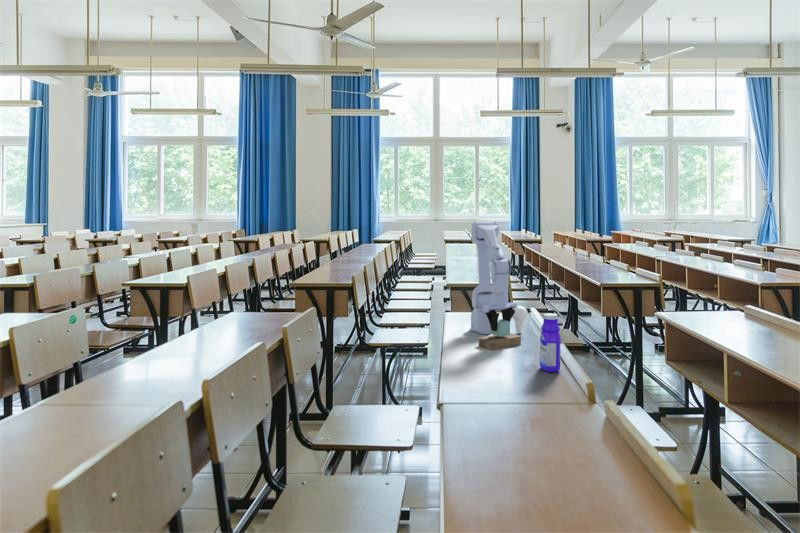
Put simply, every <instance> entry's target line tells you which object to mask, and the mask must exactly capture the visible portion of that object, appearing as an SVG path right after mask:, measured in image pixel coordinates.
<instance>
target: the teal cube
mask: <svg viewBox="0 0 800 533" xmlns="http://www.w3.org/2000/svg"><path fill="white" fill-rule="evenodd" d="M510 333H511V321H507V320H503V318H498V321H497V331H492V330H491V326H490V333H489V335H496V336H499V337H501V336H506V335H510Z"/></svg>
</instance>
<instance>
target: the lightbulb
mask: <svg viewBox="0 0 800 533" xmlns="http://www.w3.org/2000/svg"><path fill="white" fill-rule="evenodd" d="M513 309H514V310H515V313H514V315H513V316H512V319H513V321H514V325H515V326H514V327H515V332H516V333H517V334H522V333H523V330H524V324H525V322H526V319H527V318H528V313H529V312H528V310H527V309H526V307H525V306H522V305H517V308H513Z"/></svg>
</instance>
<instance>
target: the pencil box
mask: <svg viewBox="0 0 800 533" xmlns="http://www.w3.org/2000/svg"><path fill="white" fill-rule="evenodd" d="M521 344H522V336H521V335H518V334H515V333H511V332H510V335H506V336H501V337H499V336H496V335H492V334H490V335H486V336H481V337H479V336H478V346H479V347H481V348H485V349H488V350H490V351H493V350H498V349H502V348H508V347H509V348H510V347H513V346H519V345H521Z"/></svg>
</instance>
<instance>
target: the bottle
mask: <svg viewBox="0 0 800 533" xmlns="http://www.w3.org/2000/svg"><path fill="white" fill-rule="evenodd" d="M540 329H541V333H540V335H539V367H540V368H541V370H543V371H544V372H547V373H556V372H559V371H560V369H561V343H562V339H561V334H560V331H561V328H560V326H559V321H558V314H557V313H549V312H548V313H544V314H543V323H542V325H541V327H540Z"/></svg>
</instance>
